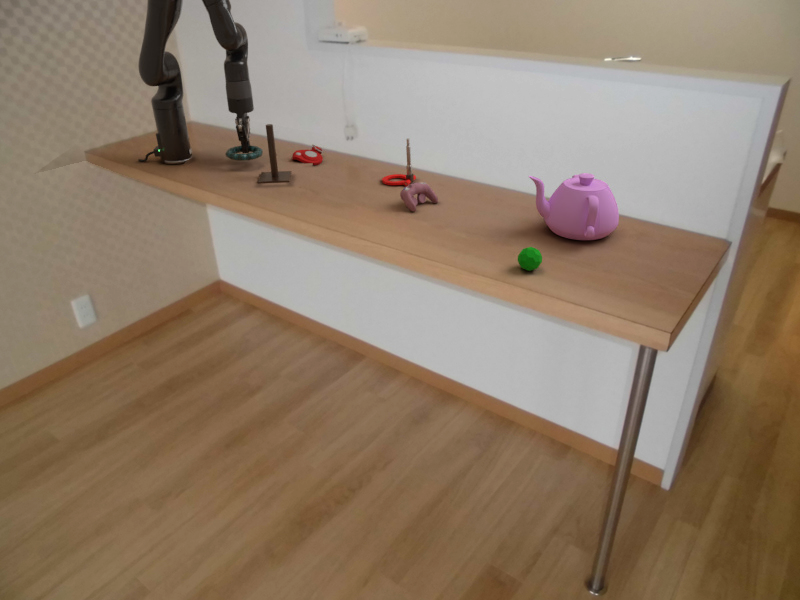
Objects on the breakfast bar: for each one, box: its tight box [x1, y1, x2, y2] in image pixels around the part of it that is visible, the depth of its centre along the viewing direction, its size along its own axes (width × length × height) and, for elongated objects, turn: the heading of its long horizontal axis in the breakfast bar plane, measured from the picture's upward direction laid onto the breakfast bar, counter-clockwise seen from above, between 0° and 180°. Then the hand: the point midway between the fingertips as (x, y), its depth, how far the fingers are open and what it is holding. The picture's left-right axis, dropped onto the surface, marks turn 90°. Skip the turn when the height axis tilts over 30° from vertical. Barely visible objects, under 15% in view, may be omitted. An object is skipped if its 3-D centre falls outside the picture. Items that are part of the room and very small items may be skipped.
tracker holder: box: [291, 144, 324, 166], centre depth 199 cm, size 12×4×10 cm
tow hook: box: [381, 138, 417, 187], centre depth 177 cm, size 8×13×9 cm
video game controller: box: [399, 181, 439, 213], centre depth 162 cm, size 10×5×7 cm, turn 135°
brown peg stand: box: [257, 123, 293, 185], centre depth 178 cm, size 9×9×16 cm
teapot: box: [528, 172, 620, 241], centre depth 144 cm, size 22×22×14 cm
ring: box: [225, 144, 264, 162], centre depth 190 cm, size 11×11×2 cm
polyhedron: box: [517, 246, 543, 272], centre depth 129 cm, size 5×5×5 cm
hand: (246, 151), depth 194 cm, fingers closed on ring, 2 cm apart
